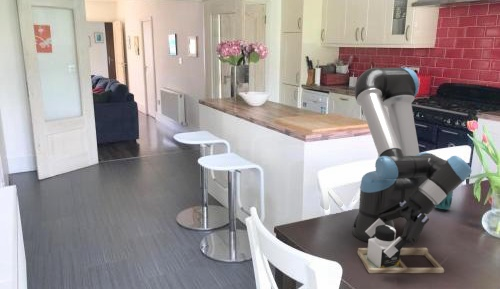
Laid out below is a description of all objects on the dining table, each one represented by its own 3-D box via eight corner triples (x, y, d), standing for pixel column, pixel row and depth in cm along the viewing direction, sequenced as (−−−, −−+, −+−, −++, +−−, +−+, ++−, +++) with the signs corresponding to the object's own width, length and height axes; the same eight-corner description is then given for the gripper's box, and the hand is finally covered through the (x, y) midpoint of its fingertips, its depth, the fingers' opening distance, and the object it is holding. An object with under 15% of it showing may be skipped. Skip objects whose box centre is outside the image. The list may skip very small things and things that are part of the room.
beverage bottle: (431, 206, 174) (437, 162, 169) (447, 207, 173) (453, 163, 169) (436, 212, 168) (442, 166, 163) (453, 213, 167) (459, 167, 162)
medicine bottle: (380, 269, 122) (383, 233, 119) (366, 258, 129) (369, 224, 126) (399, 265, 125) (403, 230, 122) (384, 255, 131) (387, 221, 128)
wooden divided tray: (368, 273, 121) (369, 267, 120) (357, 253, 133) (357, 247, 132) (443, 272, 121) (444, 267, 121) (425, 253, 133) (426, 247, 133)
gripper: (458, 221, 112) (403, 272, 114) (412, 191, 136) (367, 233, 138) (443, 204, 110) (387, 256, 112) (399, 177, 135) (354, 220, 136)
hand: (376, 244), depth 125 cm, fingers open, 13 cm apart
